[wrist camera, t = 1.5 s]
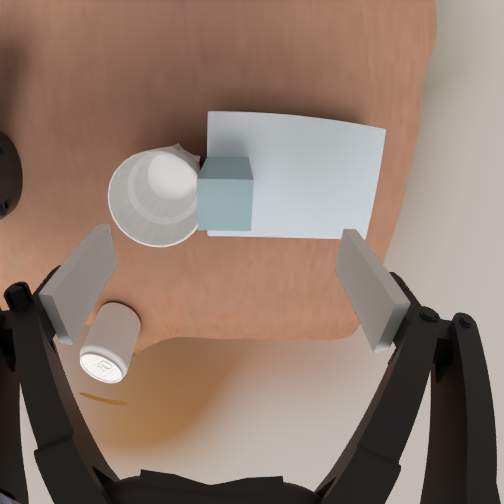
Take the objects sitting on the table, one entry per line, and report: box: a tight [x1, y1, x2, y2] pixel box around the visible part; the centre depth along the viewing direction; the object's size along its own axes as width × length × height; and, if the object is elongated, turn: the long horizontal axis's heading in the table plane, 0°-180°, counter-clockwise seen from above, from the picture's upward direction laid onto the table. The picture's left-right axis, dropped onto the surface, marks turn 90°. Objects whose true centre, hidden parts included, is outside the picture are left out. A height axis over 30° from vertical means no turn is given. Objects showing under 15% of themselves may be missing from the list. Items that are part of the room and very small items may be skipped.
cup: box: [108, 143, 201, 247], centre depth 31 cm, size 10×10×10 cm
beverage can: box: [80, 303, 141, 383], centre depth 41 cm, size 8×8×12 cm
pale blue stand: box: [197, 111, 386, 240], centre depth 25 cm, size 18×13×9 cm
